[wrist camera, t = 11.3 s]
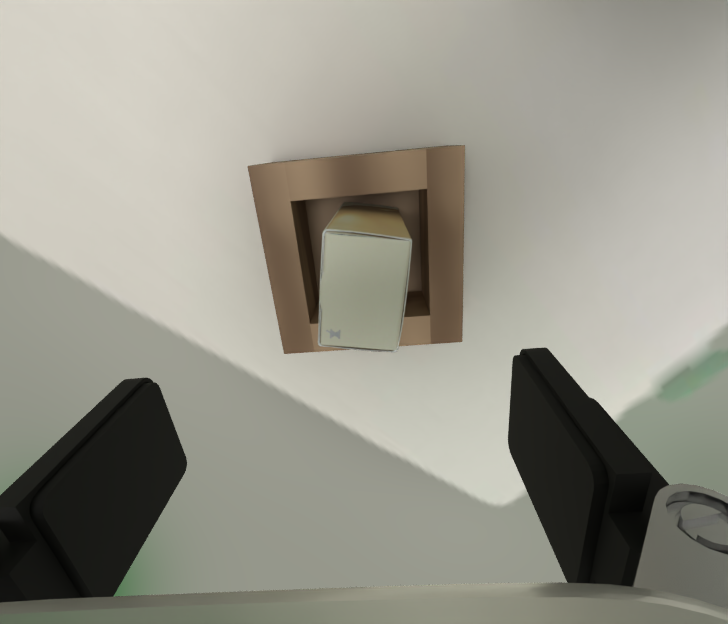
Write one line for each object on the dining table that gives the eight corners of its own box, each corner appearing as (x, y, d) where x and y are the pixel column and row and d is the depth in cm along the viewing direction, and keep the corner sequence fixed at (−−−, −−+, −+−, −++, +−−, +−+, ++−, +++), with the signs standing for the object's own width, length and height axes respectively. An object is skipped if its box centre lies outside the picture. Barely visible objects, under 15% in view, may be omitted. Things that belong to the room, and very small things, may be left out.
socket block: (446, 145, 28) (464, 145, 22) (447, 309, 33) (462, 341, 28) (271, 162, 29) (247, 166, 23) (298, 320, 34) (284, 353, 28)
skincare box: (389, 283, 31) (399, 360, 20) (336, 278, 31) (315, 352, 20) (399, 202, 29) (416, 237, 17) (341, 196, 29) (321, 228, 17)
